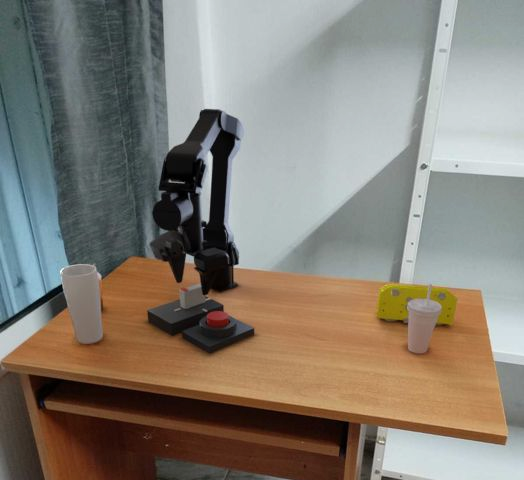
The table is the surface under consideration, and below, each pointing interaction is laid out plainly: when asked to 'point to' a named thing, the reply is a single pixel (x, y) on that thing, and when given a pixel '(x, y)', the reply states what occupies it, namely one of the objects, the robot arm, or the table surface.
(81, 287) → the drinking glass
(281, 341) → the table surface
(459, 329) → the table surface
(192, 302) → the grey block red tip
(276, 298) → the table surface
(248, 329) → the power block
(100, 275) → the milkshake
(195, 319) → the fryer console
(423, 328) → the smoothie
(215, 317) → the power button
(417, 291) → the yellow toy chassis
